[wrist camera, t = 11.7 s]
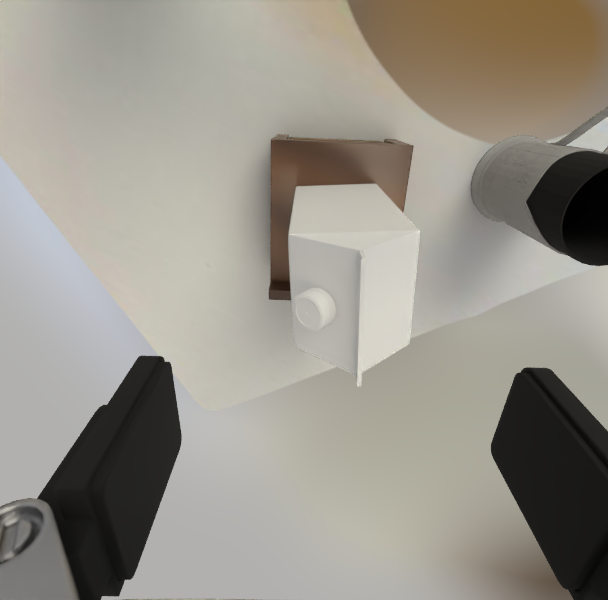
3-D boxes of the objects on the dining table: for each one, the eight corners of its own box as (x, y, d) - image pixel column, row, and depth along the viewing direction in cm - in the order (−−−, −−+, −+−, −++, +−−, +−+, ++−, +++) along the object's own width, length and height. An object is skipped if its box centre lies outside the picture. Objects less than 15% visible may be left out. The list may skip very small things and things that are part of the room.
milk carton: (376, 182, 34) (445, 255, 17) (373, 259, 37) (428, 386, 20) (295, 185, 34) (282, 260, 17) (298, 261, 37) (290, 389, 20)
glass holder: (453, 197, 41) (524, 239, 28) (551, 60, 36) (697, 31, 22) (516, 236, 43) (611, 292, 30) (618, 111, 38) (791, 112, 24)
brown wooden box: (276, 134, 39) (268, 140, 31) (396, 139, 39) (419, 147, 31) (275, 265, 45) (268, 299, 37) (379, 269, 45) (394, 304, 37)
